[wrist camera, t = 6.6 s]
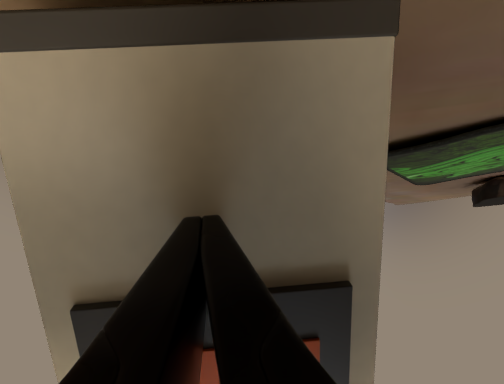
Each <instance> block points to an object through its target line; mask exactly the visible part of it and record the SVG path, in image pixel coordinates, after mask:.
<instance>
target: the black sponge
mask: <svg viewBox="0 0 504 384" xmlns="http://www.w3.org/2000/svg"><path fill="white" fill-rule="evenodd" d="M472 202H473V207H482V206H492V205H502V204H504V177H497V178H494V179H492V180H490V181H488V182H486V183H485V184H483V185H481V186H479V187H477V188H475V189H474V190H473V191H472Z"/></svg>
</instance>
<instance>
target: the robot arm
mask: <svg viewBox="0 0 504 384" xmlns="http://www.w3.org/2000/svg"><path fill="white" fill-rule="evenodd" d="M207 306H208V313H209V320H210V326H211V332H212V339H213V345H214V351H215V358H216V364H217V371H218V377H219V383H220V384H337V383H336V382H335V381H334V379H333V378H332V377H331V376H330V375H329V373H328V372H327V371H326V370H325V369H324V367H323V366H322V365H321V364H320V362H319V361H318V360H317V359H316V357H315V356H314V355H313V354H312V352H311V351H310V350H309V349H308V347H307V346H306V345H305V343H304V342H303V340H302V339H301V338H300V336H299V335H298V333H297V332H296V330H295V329H294V328H293V326H292V325H291V323H290V322H289V320H288V319H287V317H286V315H285V314H284V313H282V310H281V308H280V307H279V305H278V304H277V302H276V301H275V299H274V297H273V296H272V294H271V293H270V291H269V290H268V288H267V287H266V285H265V284H264V282H263V281H262V279H261V278H260V276H259V275H258V273H257V272H256V270H255V269H254V267H253V265H252V264H251V262H250V261H249V259H248V258H247V256H246V255H245V253H244V252H243V250H242V249H241V247H240V246H239V244H238V243H237V241H236V240H235V238H234V236H233V235H232V233H231V232H230V230H229V229H228V227H227V226H226V224H225V223H224V221H223V220H222V218H221V217H220V216H219V215H205V216H203V217H202V218H201V217H200V216H192V217H185V218H183V219H182V221H181V222H180V223H179V225H178V226H177V228H176V229H175V230H174V232H173V233H172V234H171V236H170V237H169V238H168V240H167V241H166V242H165V244H164V245H163V246H162V248H161V249H160V251H159V252H158V253H157V255H156V256H155V257H154V259H153V260H152V261H151V263H150V264H149V265H148V267H147V268H146V269H145V271H144V272H143V273H142V275H141V276H140V278H139V279H138V280H137V282H136V283H135V284H134V286H133V287H132V288H131V290H130V291H129V292H128V294H127V295H126V296H125V298H124V299H123V301H122V302H121V303H120V305H119V306H118V307H117V309H116V310H115V311H114V313H113V314H112V315H111V317H110V318H109V319H108V321H107V322H106V324H105V325H104V326H103V330H101V331H99V333H98V334H97V335H96V337H95V338H94V339H93V341H92V342H91V344H90V345H89V346H88V348H87V349H86V350H85V351H84V353H83V354H82V355H81V357H80V358H79V359H78V360H77V362H76V363H75V364H74V366H73V367H72V368H71V369H70V371H69V372H68V373H67V374H66V375H65V377H64V378H63V379H62V380H61V381H60V383H59V384H199V383H200V373H201V363H202V354H203V344H204V334H205V324H206V313H207Z"/></svg>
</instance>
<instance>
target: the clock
mask: <svg viewBox="0 0 504 384" xmlns="http://www.w3.org/2000/svg"><path fill="white" fill-rule="evenodd" d="M399 16H400V0H294V1H264V2H235V3H206V4H177V5H148V6H118V7H89V8H60V9H31V10H2V11H0V155H1V159H2V163H3V167H4V171H5V174H6V179H7V181H8V182H7V183H8V186H9V190H10V194H11V198H12V202H13V206H14V210H15V214H16V218H17V222H18V226H19V230H20V234H21V238H22V241H23V246H24V250H25V254H26V257H27V262H28V265H29V270H30V273H31V277H32V281H33V285H34V289H35V293H36V297H37V301H38V305H39V309H40V313H41V317H42V321H43V324H44V329H45V333H46V336H47V341H48V345H49V348H50V352H51V356H52V360H53V364H54V368H55V372H56V376H57V380H58V384H59V383H60V381H61V380H62V379H63V378H64V377H65V375H66V374H67V373H68V372H69V371H70V369H71V368H72V367H73V366H74V364H75V363H76V362H77V360H78V359H79V358H80V357H81V355H82V354H83V353H84V351H85V350H86V349H87V348H88V346H89V345H90V344H91V342H92V341H93V339H94V338H95V337H96V335H97V334H98V333H99V331H101V330H103V326H104V325H105V324H106V322H107V321H108V319H109V318H110V317H111V315H112V314H113V313H114V311H115V310H116V309H117V307H118V306H119V305H120V303H121V302H122V301H123V299H124V298H125V296H126V295H127V294H128V292H129V291H130V290H131V288H132V287H133V286H134V284H135V283H136V282H137V280H138V279H139V278H140V276H141V275H142V273H143V272H144V271H145V269H146V268H147V267H148V265H149V264H150V263H151V261H152V260H153V259H154V257H155V256H156V255H157V253H158V252H159V251H160V249H161V248H162V246H163V245H164V244H165V242H166V241H167V240H168V238H169V237H170V236H171V234H172V233H173V232H174V230H175V229H176V228H177V226H178V225H179V223H180V222H181V221H182V219H183V218H185V217H192V216H200V217H201V218H202V217H203V216H205V215H219V216H220V217H221V218H222V220H223V221H224V223H225V224H226V226H227V227H228V229H229V230H230V232H231V233H232V235H233V236H234V238H235V240H236V241H237V243H238V244H239V246H240V247H241V249H242V250H243V252H244V253H245V255H246V256H247V258H248V259H249V261H250V262H251V264H252V265H253V267H254V269H255V270H256V272H257V273H258V275H259V276H260V278H261V279H262V281H263V282H264V284H265V285H266V287H267V288H268V290H269V291H270V293H271V294H272V296H273V297H274V299H275V301H276V302H277V304H278V305H279V307H280V308H281V310H282V313H284V314H285V315H286V317H287V319H288V320H289V322H290V323H291V325H292V326H293V328H294V329H295V330H296V332H297V333H298V335H299V336H300V338H301V339H302V340H303V342H304V343H305V345H306V346H307V347H308V349H309V350H310V351H311V352H312V354H313V355H314V356H315V357H316V359H317V360H318V361H319V362H320V364H321V365H322V366H323V367H324V369H325V370H326V371H327V372H328V373H329V375H330V376H331V377H332V378H333V379H334V381H335V382H336V383H337V384H374V371H375V355H376V339H377V321H378V305H379V289H380V272H381V256H382V239H383V222H384V206H385V190H386V173H387V156H388V140H389V123H390V107H391V90H392V73H393V57H394V40H395V36H397V35H398V32H399ZM199 384H220V383H219V377H218V371H217V364H216V358H215V351H214V345H213V339H212V332H211V326H210V320H209V313H208V306H207V313H206V324H205V334H204V344H203V354H202V363H201V373H200V383H199Z"/></svg>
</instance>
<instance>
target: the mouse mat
mask: <svg viewBox="0 0 504 384" xmlns="http://www.w3.org/2000/svg"><path fill="white" fill-rule="evenodd" d="M387 170H388V171H390V172H392V173H394V174H396V175H398V176H400V177H401V178H403V179H405V180H407V181H409V182H411V183H412V184H415V185H430V184H436V183H441V182H446V181H451V180H456V179H461V178H467V177H472V176H479V175H484V174H490V173H496V172H501V171H504V123H503V124H499V125H494V126H490V127H485V128H481V129H478V130H474V131H470V132H466V133H463V134H460V135H456V136H453V137H449V138H446V139H442V140H438V141H434V142H430V143H426V144H421V145H417V146H413V147H408V148H403V149H398V150H392V151H388V156H387Z"/></svg>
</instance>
